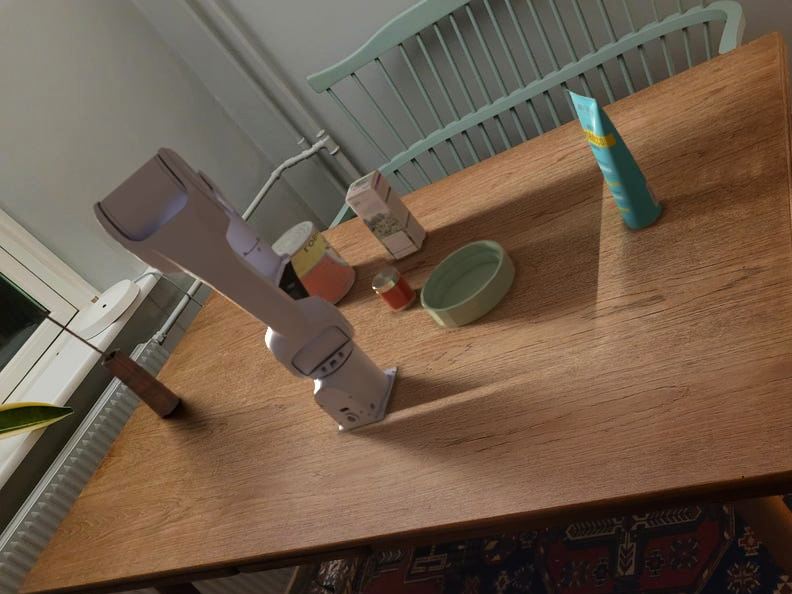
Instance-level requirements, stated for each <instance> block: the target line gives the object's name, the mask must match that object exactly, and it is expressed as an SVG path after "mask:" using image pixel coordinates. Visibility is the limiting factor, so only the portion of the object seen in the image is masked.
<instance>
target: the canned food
mask: <svg viewBox="0 0 792 594" xmlns="http://www.w3.org/2000/svg"><path fill="white" fill-rule="evenodd" d="M270 247H271V248H272V249H273V250H274V251H275V252H276V253H277V254H278V255H280V256H282V255H283V254H284V253H286V252H287V253H288V254H289V255H290V257H291V262H292V265H293V268H294V270H295V272H296V274H297V276H298V278H299V279H300V281H301V282H302V284H303V285H304V287H305V288H306V290H307V291H308V293H309V295H310V297H311V296H315V295H318V296H319V297H320V298H324V299H325V300H326V301H329V302H331V303H332V304H333V305H334V306H335V304H337V303H338V302H339V301H341V300H342V299H343V298H344V297H345V296H346V294H348V292H349V291H350V289H351V288H352V286H353V284H354V283H355V280H356V277H357V273H356V270H355V268H353V267H351V265H350V264H349V263H348V262H347V261H346V260H345V259H344V257H343V256H342V255H341V254H340V253H339V252H338V251H337V249H335V247H334V246H333V245H332V244H331V243H330V242H329V240H328V239H327V238H326V237H325V236H324V235H323V234H322V232H321V231H320V230H319V229H318V228H317V227H316V226H315V225H314V223H313V222H312V221H309V220H306V221H305V220H304V221H302V222H299V223H297V224H295V225H294V226H292V227H290V228H289V229H287V230H286V231H284V232H283V233H282V234H281V235H280V236H279V237H278V238H277V239H276V240H275V241H274V242H273V243H272V244H271V246H270Z"/></svg>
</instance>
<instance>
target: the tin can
mask: <svg viewBox="0 0 792 594" xmlns="http://www.w3.org/2000/svg"><path fill="white" fill-rule="evenodd" d="M371 287H372V289H373V290H374V291H375V292H376V294H377V295H379V297H380V298H381V299H382V300H383V301H384V302H385V303H386V305H388V307H389V308H390V309H391V310H392V311H393V312H395V313H399V312H403V311H404V310H406V309H408V308H409V307H410V306H411V305H412V304H413V303H414V301H415V299H416V297H417V293H416V291H415V290H414V288H413V287H412V286H411V285H410V284H409V283H408V281H407V280H406V279H405V277H404V276H403V275H402V274H401V273H400V272H399V271H398V269H396V267H394V266H389V267H386V268H384V269H382V270H381V271H380V272H379V273H378V274H377V275H376V276H375V277H374V278H373V279H372V283H371Z"/></svg>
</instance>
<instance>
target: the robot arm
mask: <svg viewBox="0 0 792 594" xmlns="http://www.w3.org/2000/svg"><path fill="white" fill-rule="evenodd" d="M92 208H93V215H94V218H95V220H96V221H97V223H98V224H99V225H100V227H101V228H102V229H103V231H105V232H106V233H107V235H109V237H111V239H112V240H114V241H115V242H116V243H118V245H119V246H121V247H122V248H123V249H124V250H125V251H126V252H128V253H129V254H131V255H132V256H134V257H136V258H137V259H139V260H140V261H141V262H143V263H144V264H145V265H147V266H149V267H150V268H152V269H154V270H157V271H158V272H160V273H162V274H163V275H173V274H181V273H186V274H188V275H189V276H191V277H193V278H194V279H196V280H198V281H200V282H201V283H203V284H205V285H206V286H208V287H210V288H211V289H212V290H214V291H215V292H217V293H219V294H220V295H221V296H223V297H224V298H226V299H227V300H228V301H230V302H231V303H232V304H234V305H235V306H237V307H238V308H239V309H241V310H242V311H244V312H245V313H247V314H248V315H250V316H251V317H252V318H254V319H255V320H257V321H258V322H260V323H261V324H263V325H264V326H265V327H267V328H268V329H267V332H266V335H265V338H264V339H265V343H266V346H267V348H268V350H269V351H270V352H271V354H272V355H273V357H274V358H275V360H276V361H277V362H278V363H280V364H281V365H283V367H284V368H285V369H286V370H287V371H288V372H290V374H291V375H292V376H294V377H295V378H297V379H303V380H306V379H308V378H310V379H311V380H312V381H313V382H314V385H315V387H314V395H313V396H314V397H313V398H314V401H315V404H317V406H318V407H319V408H320V409H321V410H322V411H324V412H325V413H326V414H327V415H328V416H329V417H330V418H331V419H333V420H334V422H336V423H337V424H338V425H339V431H341V432H344V431H345V432H346V431H348V430H351V429H355V428H358V427H362V426H365V425H369V424H372V423H376V422H379V421H382V420H384V419H385V417H386V414H385V411H386V408H387V405H388V402H389V398H390V395H391V391H392V388H393V384H394V381H395V379H396V375H397V371H398V367H397V366H394V367H390V368H387V369H384V370H383V369H382V368H381V367H379V365H378V364H377V363H376V362H374V360H373V359H372V358H371V357H370V356H369V355H368V354H367V353H366V352H365V351H364V350H363V348H361V347H360V346H359V345H358V344H357V342H355V340H353V339H354V338H356V329H355V328H354V326H353V324H352V323H351V322H350V321H349V320H348V319H347V317H346V316H345V315H344V314H343V313H342V312H341V310H339V308H337V306H336V305H335V304H334V305H333V304H332V303H331V302H329V301H326V300H325V299H324V298H320V297H319V296H318V295H315V296H311V297H310V295H309V293H308V291H307V290H306V288H305V287H304V285H303V284H302V282H301V281H300V279H299V278H298V276H297V274H296V272H295V270H294V268H293V265H292V262H291V257H290V255H289V254H288V253H287V252H286V253H284V254H283V255H282V256H280V255H278V254H277V253H276V252H275V251H274V250H273V249H272V248H271V246H270V244H268V243H267V241H266V240H265V239H264V238H263V237H262V236H261V235H260V234H259V233H258V232H257V231H256V230H255V229H254V228H253V227H252V226H251V225H250V224H249V223H248V222H247V220H245V219H244V218H243V216H241V215H240V214H239V213H238V212H237V209H236V207H235V206H234V205H233V204H232V202H231V201H229V200H228V198H227V197H226V195H225V194H224V193H223V191H222V190H221V188H220V187H219V186H218V185H217V184H216V183H215V182H214V180H213V179H211V177H209V176H208V175H207V174H206V173H205V172H203V171H202V170H201V169H199V170H198V171H195V169H193V167H192V166H190V164H189V163H188V162H187V161H186V160H185V159H184V158H183V157H182V156H181V155H179V153H178V152H176V151H175V150H173V149H172V148H169V147H164V146H161V147H160V148H158V149H157V153H156V154H154V155H153V156H152V157H151V158H149V160H147V161H146V162H145V163H144V164H143V165H141V166H139V168H138V169H137V170H135V172H133V173H132V174H131V175H130V176H129V177H127V178H126V179H125V180H124V181H123V182H122V183H120V184H119V185H118V186H117V187H116V188H115V189H113V190H112V191H111V192H109V194H108V195H107V196H105V197H104V198H103V199H102V200H100V201H99V200H98V201H96V202H95V203H94V204H93V205H92Z"/></svg>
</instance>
